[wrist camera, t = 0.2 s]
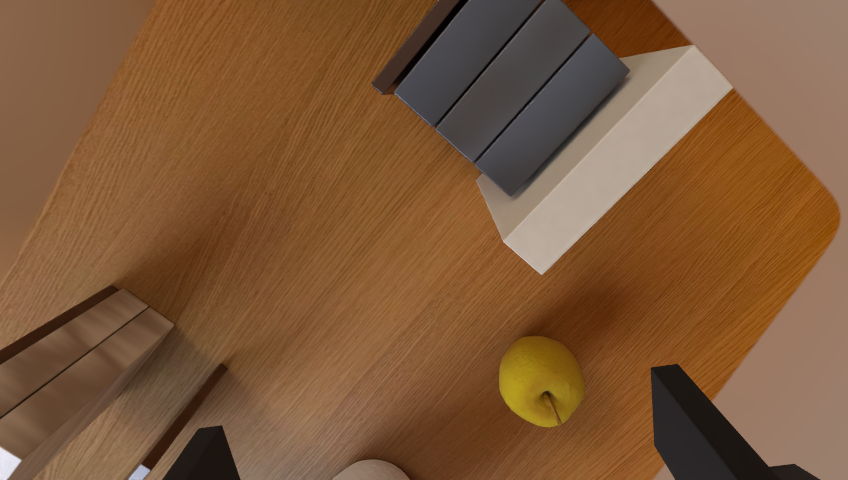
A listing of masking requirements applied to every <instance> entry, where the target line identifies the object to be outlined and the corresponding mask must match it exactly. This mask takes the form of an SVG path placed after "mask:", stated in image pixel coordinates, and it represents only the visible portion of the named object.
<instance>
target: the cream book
mask: <svg viewBox="0 0 848 480" xmlns="http://www.w3.org/2000/svg"><path fill="white" fill-rule="evenodd" d="M619 59H620V60H621V61H622V62H623V63H624V64H625V65H626V66H627V67H628V68H629V69H630V72H629V73H628V74H627V75H626V76H625V77H624V78H623V79H622V80H621V81H620V83H619V84H618V85H617V86H616V87H615V88H614V89H613V90H612V91H611V92H610V93H609V94H608V95H607V96H606V97H605V98H604V99H603V100H602V102H601V103H600V104H599V105H598V106H597V107H596V108H595V109H594V110H593V111H592V112H591V113H590V114H589V115H588V116H587V117H586V118H585V119H584V121H583V122H582V123H581V124H580V125H579V126H578V127H577V128H576V129H575V130H574V131H573V132H572V133H571V134H570V135H569V136H568V137H567V138H566V140H565V141H564V142H563V143H562V144H561V145H560V146H559V147H558V148H557V149H556V150H555V151H554V152H553V153H552V154H551V155H550V156H549V158H548V159H547V160H546V161H545V162H544V163H543V164H542V165H541V166H540V167H539V168H538V169H537V170H536V171H535V172H534V173H533V174H532V175H531V177H530V178H529V179H528V180H527V181H526V182H525V183H524V184H523V185H522V186H521V187H520V188H519V189H518V190H517V191H516V192H515V193H514V194H513V196H512V197H509V196H508V195H507V194H506V193H505V192H503V191H502V190H501V189H500V188H499V187H498V186H497V185H496V184H495V183H493V182H492V181H491V180H490V179H489V178H488V177H487V176H486V175H485V174H483V173H482V174H481V175H480V176H479V177H478V178H477V179H476V181H477V184H478V186H479V188H480V190H481V193H482V195H483V197H484V199H485V202H486V204H487V206H488V208H489V210H490V213H491V215H492V217H493V219H494V222H495V224H496V226H497V228H498V231H499V233H500V235H501V237H502V239H503V242H504V243H505V244H506V245H508V246H509V247H510V248H511V249H512V250H513V251H514V252H516V253H517V254H518V255H519V256H520V257H521V258H523V259H524V260H525V261H526V262H527V263H528V264H529V265H531V266H532V267H533V268H534V269H535V270H536V271H537V272H539V273H540V274H541V275H543V274H544V273H545V272H546V271H547V270H548V269H549V268H550V267H551V266H552V265H553V264H554V263H555V262H556V261H557V260H558V259H559V258H560V257H561V256H562V255H563V254H564V253H565V252H566V251H567V250H568V249H569V248H570V247H571V246H572V245H573V244H574V243H575V242H576V241H577V240H578V239H579V238H581V237H582V236H583V235H584V234H585V233H586V232H587V231H588V230H589V229H590V228H591V227H592V226H593V225H594V224H595V223H596V222H597V221H598V220H599V219H600V218H601V217H602V216H603V215H604V214H605V213H606V212H607V211H608V210H609V209H610V208H611V207H612V206H613V205H614V204H615V203H616V202H617V201H618V200H619V199H620V198H621V197H622V196H623V195H624V194H625V193H626V192H627V191H628V190H629V189H630V188H631V187H632V186H633V185H634V184H636V183H637V182H638V181H639V180H640V179H641V178H642V177H643V176H644V175H645V174H646V173H647V172H648V171H649V170H650V169H651V168H652V167H653V166H654V165H655V164H656V163H657V162H658V161H659V160H660V159H661V158H662V157H663V156H664V155H665V154H666V153H667V152H668V151H669V150H670V149H671V148H672V147H673V146H674V145H675V144H676V143H677V142H678V141H679V140H680V139H681V138H682V137H683V136H684V135H685V134H686V133H687V132H688V131H689V130H691V129H692V128H693V127H694V126H695V125H696V124H697V123H698V122H699V121H700V120H701V119H702V118H703V117H704V116H705V115H706V114H707V113H708V112H709V111H710V110H711V109H712V108H713V107H714V106H715V105H716V104H717V103H718V102H719V101H720V100H721V99H722V98H723V97H724V96H725V95H726V94H727V93H728V92H729V91H730V90H731V89H732V88H733V85H732V84H731V83H730V82H729V81H728V80H727V79H726V78H725V77H724V76H723V75H722V73H721V72H720V71H719V70H718V69H717V68H716V67H715V66H714V65H713V64H712V63H711V62H710V61H709V60H708V58H707V57H706V56H705V55H704V54H703V53H702V52H701V51H700V50H699V49H698V48H697V47H696V46H695V45H688V46H683V47H678V48H672V49H667V50H661V51H656V52H650V53H645V54H639V55H634V56H629V57H623V58H619Z"/></svg>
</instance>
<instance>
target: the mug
mask: <svg viewBox="0 0 848 480" xmlns="http://www.w3.org/2000/svg"><path fill="white" fill-rule="evenodd" d="M333 480H410V479H409V478H408V477H407V475H406V474H405V473H404V472H403V471H402V470H401V469H399V468H398V467H397V466H395V465H393V464H391V463H389V462H386V461H382V460H376V459H370V460H362V461H359V462H356V463H354V464H352V465H350V466H349V467H347V468H346V469H344V470H343V471H342V472H340V473H339V474H338V475H337V476H335V477H334V478H333Z"/></svg>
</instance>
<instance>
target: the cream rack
mask: <svg viewBox="0 0 848 480" xmlns="http://www.w3.org/2000/svg"><path fill="white" fill-rule="evenodd" d="M147 308H148V305H147V304H145V303H144V302H142V301H141V300H140V299H138V298H137V297H135V296H134V295H133V294H131V293H130V292H128V291H127V290H126V289H124V288H122V289H121V290H119V291H118V290H117V289H115V288H114V287H113V286H111V285H110V286H108V287H106V288H105V289H103V290H101V291H100V292H98V293H96V294H95V295H93V296H91V297H89V298H88V299H86V300H84V301H83V302H81V303H79V304H78V305H76V306H74V307H73V308H71V309H69V310H68V311H66V312H64V313H62V314H61V315H59V316H57V317H56V318H54V319H52V320H51V321H49V322H47V323H46V324H44V325H42V326H41V327H39V328H37V329H36V330H34V331H32V332H30V333H29V334H27V335H25V336H24V337H22V338H20V339H19V340H17V341H15V342H14V343H12V344H10V345H9V346H7V347H5V348H3V349H2V350H0V480H32V479H33V478H34V477H35V476H36V475H37V474H38V473H40V472H41V471H42V470H43V469H44V468H45V467H46V466H47V465H48V464H49V463H50V462H51V461H52V460H53V459H54V458H55V457H56V456H57V455H58V454H59V453H60V452H61V451H62V450H64V449H65V448H66V447H67V446H68V445H69V444H70V443H71V442H72V441H73V440H74V439H75V438H76V437H77V436H78V435H79V434H80V433H81V432H82V431H83V430H84V429H85V428H86V427H87V426H89V425H90V424H91V423H92V422H93V421H94V420H95V419H96V418H97V417H98V416H99V415H100V414H101V413H102V412H103V411H104V410H105V409H106V408H107V407H108V406H109V405H110V404H111V403H112V402H114V401H115V400H116V398H117V397H118V396H119V394H120V393H121V392H122V391H123V389H124V388H125V387H126V386H127V384H128V383H129V382H130V381H131V379H132V378H133V377H134V376H135V374H136V373H137V372H138V371H139V369H140V368H141V367H142V366H143V364H144V363H145V362H146V361H147V359H148V358H149V357H150V355H151V354H152V353H153V352H154V350H155V349H156V348H157V347H158V345H159V344H160V343H161V342H162V340H163V339H164V338H165V337H166V335H167V334H168V333H169V332H170V330H171V329H172V328H173V327H174V324H173V323H172V322H170V321H169V320H168V319H166V318H165V317H163V316H162V315H161V314H159V313H158V312H156V311H155V310H154V309H152V308H151V307H149V308H148V309H147ZM146 309H147V310H146ZM226 371H227V368H226V367H225V366H223V365H222V364H219V366H218V367H217V368H216V369H215V370H214V372H213V373H212V374H211V375H210V376H209V377H208V379H207V380H206V381H205V382H204V383H203V384H202V386H201V387H200V388H199V389H198V390H197V392H196V393H195V394H194V395H193V396H192V397H191V399H190V400H189V401H188V402H187V403H186V404H185V406H184V407H183V408H182V409H181V410H180V412H179V413H178V414H177V415H176V416H175V417H174V419H173V420H172V421H171V422H170V423H169V424H168V426H167V427H166V428H165V429H164V430H163V432H162V433H161V434H160V435H159V437H158V438H157V439H156V440H155V442H154V443H153V444H152V445H151V447H150V448H149V449H148V450H147V452H146V453H145V454H144V455H143V457H142V458H141V459H140V460H139V462H138V463H137V464H136V465H135V466H134V468H133V469H132V470H131V471H130V473H129V474H128V475H127V476H126V478H125V479H124V480H144V479H145V477H146V476H147V475H148V474H149V473H150V472H151V470H152V469H153V468H154V466H155V465H156V464H157V462H158V461H159V460H160V459H161V457H162V456H163V455H164V453H165V452H166V451H167V449H168V448H169V447H170V445H171V444H172V443H173V441H174V440H175V439H176V437H177V436H178V435H179V433H180V432H181V431H182V429H183V428H184V427H185V425H186V424H187V423H188V421H189V420H190V419H191V417H192V416H193V415H194V413H195V412H196V411H197V409H198V408H199V407H200V405H201V404H202V403H203V401H204V400H205V399H206V397H207V396H208V395H209V393H210V392H211V391H212V389H213V388H214V387H215V385H216V384H217V383H218V381H219V380H220V379H221V377H222V376H223V375H224V373H225V372H226Z"/></svg>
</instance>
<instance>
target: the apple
mask: <svg viewBox="0 0 848 480" xmlns="http://www.w3.org/2000/svg"><path fill="white" fill-rule="evenodd" d="M499 387H500V392H501V395H502V397H503V399H504V401H505V402H506V404H507V405H508V406H509V407H510V408H511V410H512V411H513V412H514V413H516V414H517V415H519V416H520V417H522V418H523V419H525V420H527V421H529V422H531V423H533V424H535V425H538V426H542V427H554V426H557V425H561V426H562V423H564V422H565V421H567V420H568V419H569V417H570V416H571V415H572V413H573V412H574V411H575V410H576V408H577V407H578V406H579V404H580V402H581V401H582V399H583V397H584V394H585V380H584V377H583V374H582V371H581V369H580V367H579V364H578V362H577V361H576V359H575V357H574V356H573V354H572V353H571V351H570V350H569V349H568V348H566V347H565V346H564V345H563V344H562V343H560V342H559V341H556V340H554V339H551V338H548V337H543V336H526V337H522V338H520V339H518V340H516V341H515V342H514V343H513V344H512V345H511V346H510V347H509V348H508V349H507V351H506V352H505V354H504V356H503V358H502V361H501V363H500V369H499Z"/></svg>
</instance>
